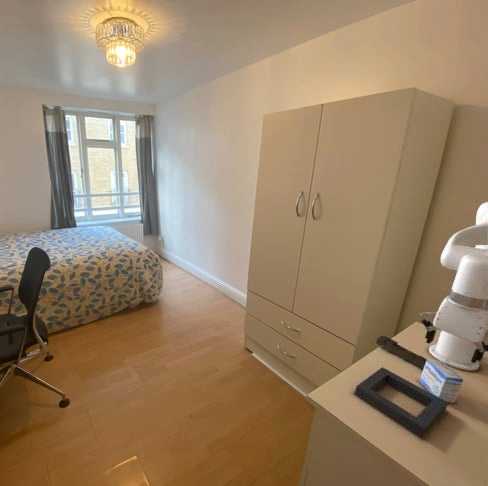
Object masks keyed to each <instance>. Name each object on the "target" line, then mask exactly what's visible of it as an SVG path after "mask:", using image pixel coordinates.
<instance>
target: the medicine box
mask: <svg viewBox="0 0 488 486" xmlns="http://www.w3.org/2000/svg"><path fill="white" fill-rule="evenodd" d="M463 382H464V379H463V378H462V377H461V376H460V375H459V374H457V373H456V372H455V371H454V370H453V369H451V368H450V367H449V365H448V364H445V363H443V362H442V361H440V360H438V359H427V361H426V364H425V367H424V369H422V372H421V376H420V378H419V383H420V384H421V385H422V386H423V387H424V388H425V390H426V391H427V392H429V393H431V394H433V395H435V396H437V397H439V398H440V399H442V400H444V401H446V402H448V403H450V404H451V403H452V404H454V403H455V402H456V399H457V397H458V394H459V392H460V390H461V387H462V385H463Z"/></svg>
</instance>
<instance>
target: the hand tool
mask: <svg viewBox="0 0 488 486" xmlns="http://www.w3.org/2000/svg"><path fill="white" fill-rule="evenodd" d="M375 343H376V344H377V345H378V346H379V347H381V346H382V345H383V346H382V347H381V348H382V349H383V350H385V351H387V352H388V353H389V354H395V355H397V356H399V357H400V358H402V359H404V360H406V361H408V362H410V363H412V364H413V365H415V366H417V367H419V368H420V369H422V370H423V369H424V367H425V364H426V361H427V360H428V359H427V358H425V357H423V356H422V355H420V354H417V353H415V352H413V351H411V350H409V349H407V348H406V347H404V346H403V345H402V346H401V345H400V344H398V343H399V342H398V341H396V340H394V339H392V338H390V337H388V336H386V335H380V336H379V337H377V338H376V341H375Z"/></svg>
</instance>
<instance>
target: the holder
mask: <svg viewBox="0 0 488 486" xmlns="http://www.w3.org/2000/svg"><path fill="white" fill-rule="evenodd" d="M385 384H386V385H388V386H390V387H392V388H393V389H394V390H397V391H399V392H400V393H402V394H404V395H405V396H407V397H409V398H411V399H412V400H414V401H417V402H418V403H419V404H421V405H423V406H425V408H424V409H423V410H422V411H421V412H419V414H418V415H417V416H415V415H414V414H412V413H411V412H409V411H408V410H406V409H404V408H403V407H401V406H399V405H398V404H396V403H394V402H393V401H391V400H389V398H386V397H385V396H383V395H381V394H380V393H378V392H377V390H378V389H380V388H381V387H382V386H384V385H385ZM354 395H355V396H356V397H357V398H359V399H360V400H362V401H364V402H365V403H367V404H368V405H370V406H371V407H373V408H374V409H376V410H377V411H379V412H380V413H382V414H383V415H384V416H386V417H387V418H390V419H391V420H392V421H394V422H396V423H397V424H398V425H400V426H402V427H403V428H405V429H406V430H408V431H409V432H410V433H412V434H413V435H414V436H416V437H418V438H419V439H423V438H424V436H425V435H426V434H427V433H428V432H429V430H430V429H432V427H433V426H434V425H435V424H436V422H437V421H438V420H439V419H440V418H441V417H442V416H443V415H444V414H445V412H446V410H447V407H448V405H449V402H446V401H444V400H442V399H440V398H439V397H437V396H435V395H433V394H431V393H430V392H429V391H428V390H427V389H424V388H422V387H420V386H419V385H416V384H415V383H413V382H411V381H410V380H407V379H405V378H403V377H402V376H400V375H398V374H396V373H394V372H392V371H390V369H389V370H388V369H387V368H385V367H384V366H382V367H380V368H379V369H378V370H376V371H375V372H373V373H372V374H370V376H368V377H366V378H365V379H364V380H363V381H361V382H360V383H359V384H357V385H356V387H355V391H354Z"/></svg>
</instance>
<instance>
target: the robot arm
mask: <svg viewBox="0 0 488 486" xmlns="http://www.w3.org/2000/svg"><path fill="white" fill-rule="evenodd" d="M440 264H441V265H442V266H443V267H444V268H445V269H448V270H451V271H456V275H455V277H454V281H453V283H452V287H451V289H450V293H449V295H447V296H445V298H444V299H443V300H442V302H441V304H440V306H439V307H438V310H437V311H422V312H420V313H419V318H420V320H421V324H422V325H423V326H424V328H425V330H426V334H425V337H424V339H426V344H431V343H432V342H433V341H434V339H435V336H436V333H437V330H439V331H440V334H439V337H438V340H437V343H436V344H432V345H430V346H429V347H428V352H429V354H430V355H432V357H434V358H435V360H437V361H442V362H443V363H444V364H446V365H447V366H450V367H452V368H456V369H459V370H464V371H477V370H478V369H479V368H480V362H481V361H482V360H483V357H484V355H485V353H486V352H488V344H487V342H485V339H486V338H488V201H486V202H484V203H482V204H480V206H479V207H478V209H477V211H476V216H475V225H472V226H470V227H466V228H463V229H461V230H459V231H457V232H455V233H454V234H453V235H452V236H450V238H449V239H448V241H447V243H446V244H445V246H444V247H443V250H442V253H441V254H440ZM429 318H434V319H433V323H432V322H431V321H430V320H429Z"/></svg>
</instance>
